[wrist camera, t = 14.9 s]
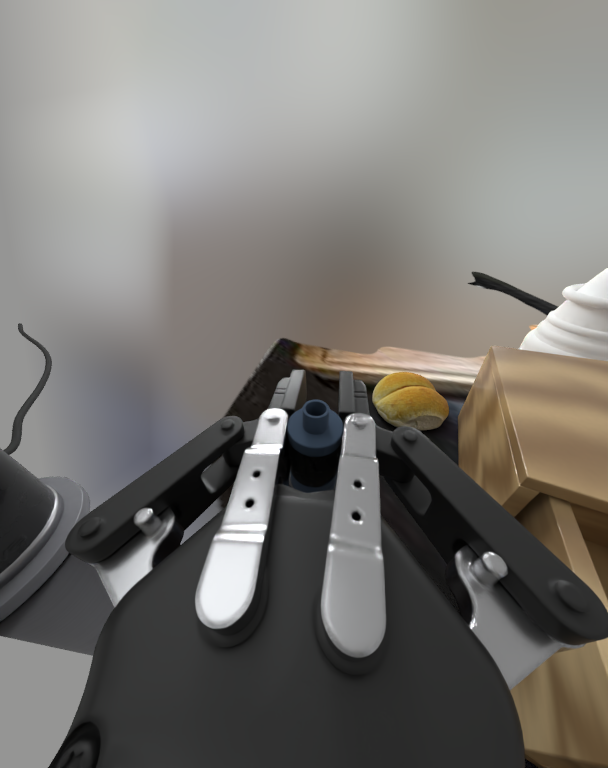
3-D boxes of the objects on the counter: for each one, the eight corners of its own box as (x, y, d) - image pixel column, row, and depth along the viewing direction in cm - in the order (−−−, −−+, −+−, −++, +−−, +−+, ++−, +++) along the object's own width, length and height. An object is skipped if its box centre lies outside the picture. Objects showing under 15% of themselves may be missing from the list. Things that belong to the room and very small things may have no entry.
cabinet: (748, 686, 12) (1143, 668, 6) (459, 553, 17) (527, 476, 11) (605, 454, 23) (696, 372, 17) (457, 417, 28) (491, 345, 22)
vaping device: (285, 537, 16) (269, 414, 9) (324, 479, 19) (335, 355, 12) (317, 563, 15) (328, 445, 7) (352, 496, 18) (382, 371, 11)
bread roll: (421, 385, 33) (429, 361, 31) (455, 431, 26) (468, 404, 24) (364, 387, 33) (367, 364, 31) (382, 434, 26) (387, 408, 24)
